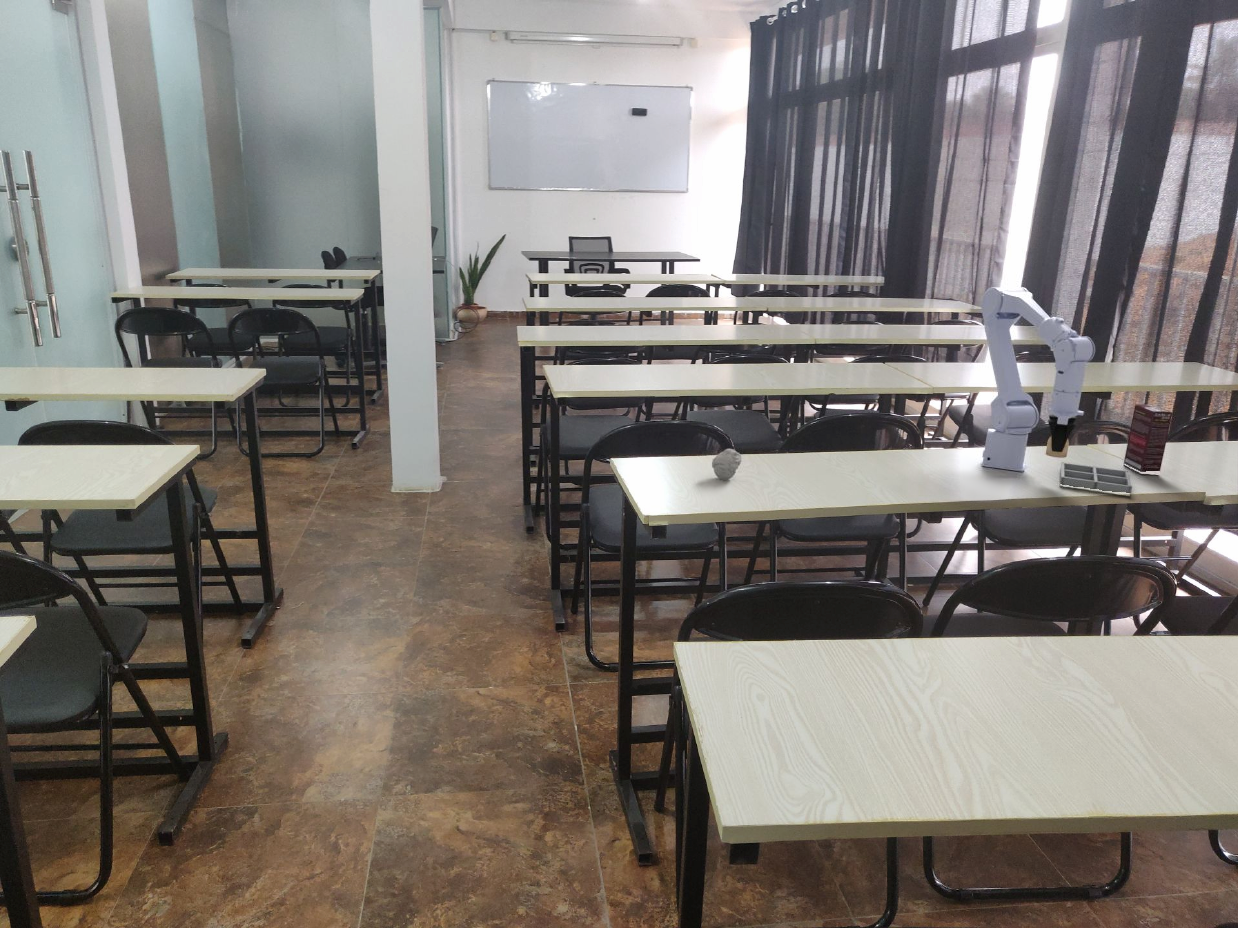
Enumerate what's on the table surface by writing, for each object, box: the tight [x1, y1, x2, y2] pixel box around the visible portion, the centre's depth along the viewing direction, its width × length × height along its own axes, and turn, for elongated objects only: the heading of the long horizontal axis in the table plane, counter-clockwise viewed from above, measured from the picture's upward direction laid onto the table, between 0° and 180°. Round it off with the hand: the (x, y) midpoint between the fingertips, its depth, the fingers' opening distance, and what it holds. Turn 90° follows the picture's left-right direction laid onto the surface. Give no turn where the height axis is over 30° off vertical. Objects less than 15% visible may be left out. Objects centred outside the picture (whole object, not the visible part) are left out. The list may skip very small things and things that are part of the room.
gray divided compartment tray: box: [1059, 461, 1133, 493], centre depth 207 cm, size 14×14×2 cm
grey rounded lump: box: [711, 448, 742, 481], centre depth 201 cm, size 6×7×7 cm
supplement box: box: [1123, 403, 1173, 472], centre depth 217 cm, size 9×5×16 cm, turn 179°
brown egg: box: [1045, 436, 1070, 459], centre depth 204 cm, size 4×4×5 cm
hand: (1057, 449), depth 204 cm, fingers closed on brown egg, 4 cm apart
